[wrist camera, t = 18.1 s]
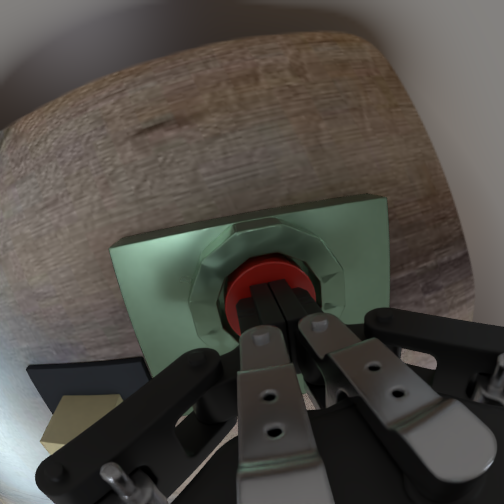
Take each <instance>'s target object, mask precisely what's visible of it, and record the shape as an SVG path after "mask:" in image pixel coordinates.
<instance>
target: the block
mask: <svg viewBox="0 0 504 504" xmlns="http://www.w3.org/2000/svg"><path fill="white" fill-rule="evenodd" d="M122 402H123V400H122V398H121V396H120V394H111V395H64V396H63V397H62V399H61V401H60V402H59V404H58V406H57V408H56V410H55V412H54V414H53V416H52V418H51V420H50V422H49V424H48V426H47V428H46V430H45V432H44V434H43V436H42V438H41V440H40V442H41V444H42V445H43V446H44V447H45V449H46V450H47V451H48V452H49V453H50V455H52V454H53V453H54V452H56V451H57V450H59V449H60V448H61V447H63V446H64V445H66V444H67V443H68V442H70V441H71V440H72V439H74V438H75V437H76V436H78V435H79V434H81V433H82V432H83V431H85V430H86V429H87V428H89V427H90V426H91V425H93V424H94V423H95V422H97V421H98V420H99V419H101V418H102V417H103V416H105V415H106V414H107V413H109V412H110V411H111V410H112V409H114V408H115V407H116V406H118V405H119V404H120V403H122Z"/></svg>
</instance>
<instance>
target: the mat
mask: <svg viewBox="0 0 504 504" xmlns="http://www.w3.org/2000/svg"><path fill="white" fill-rule="evenodd" d="M26 371H27V373H28V375H29V376H30V378H31V380H32V382H33V383H34V385H35V387H36V388H37V390H38V392H39V393H40V395H41V397H42V398H43V400H44V402H45V403H46V405H47V406H48V408H49V409H50V411H51V412H52V414H54V412H55V410H56V408H57V406H58V404H59V402H60V401H61V399H62V397H63V396H64V395H111V394H120V396H121V398H122V400H123V401H124V400H125V399H127V398H128V397H129V396H131V395H132V394H133V393H134V392H136V391H137V390H138V389H140V388H141V387H142V386H143V385H145V384H146V383H147V382H148V381H150V380H151V377H150V374H149V372H148V370H147V367H146V365H145V363H144V360H143V358H142V357H139V358H131V359H121V360H111V361H100V362H88V363H74V364H56V365H29V366H28V367H27V368H26Z"/></svg>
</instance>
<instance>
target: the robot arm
mask: <svg viewBox="0 0 504 504" xmlns="http://www.w3.org/2000/svg"><path fill="white" fill-rule="evenodd" d="M250 292H251V297H249V298H243V299H240V300H239V301H238V303H237V304H236V310H237V316H238V321H239V327H240V332H241V336H240V339H239V343H240V344H239V345H238V346H237V347H236V348H235V349H233V350H232V351H230V352H228V353H226V354H223V355H219V353H218V352H217V351H216V350H214V349H211V348H197V349H193V350H190V351H187V352H186V353H184V354H182V355H181V356H180V357H179V358H177V359H176V360H175V361H174V362H172V363H171V364H170V365H169V366H167V367H166V368H165V369H164V370H162V371H161V372H160V373H159V374H157V375H156V376H155V377H154V378H152V379H151V380H150V381H148V382H147V383H146V384H145V385H143V386H142V387H141V388H140V389H138V390H137V391H136V392H134V393H133V394H132V395H131V396H129V397H128V398H127V399H125V400H124V401H123V402H122V403H120V404H119V405H118V406H116V407H115V408H114V409H112V410H111V411H110V412H109V413H107V414H106V415H105V416H103V417H102V418H101V419H99V420H98V421H97V422H95V423H94V424H93V425H91V426H90V427H89V428H87V429H86V430H85V431H83V432H82V433H81V434H79V435H78V436H76V437H75V438H74V439H72V440H71V441H70V442H68V443H67V444H66V445H64V446H63V447H61V448H60V449H59V450H57V451H56V452H54V453H53V454H52V455H50V456H49V457H47V458H46V459H45V460H44V461H42V462H41V464H40V465H39V466H38V468H37V470H36V474H35V481H36V484H37V486H38V488H39V489H40V490H41V491H42V492H43V493H44V494H45V495H46V496H47V497H48V498H50V499H51V500H52V501H53V502H54V503H55V504H168V501H167V498H168V497H169V496H170V495H171V494H172V493H173V492H174V491H175V490H176V489H177V488H178V487H179V486H180V485H181V484H182V483H183V482H184V481H185V480H186V479H187V478H188V477H189V476H190V475H191V474H192V473H193V472H194V471H195V470H196V469H197V468H198V466H199V465H200V464H201V463H202V462H203V461H204V460H205V459H206V458H207V457H208V456H209V454H210V453H211V452H212V451H213V450H214V449H215V448H216V447H217V445H218V444H219V443H220V442H221V441H222V440H223V439H224V437H225V436H226V435H227V434H228V433H229V432H230V430H231V429H232V428H233V427H234V426H235V424H236V422H237V416H238V436H236V437H234V438H233V439H231V440H229V441H228V442H227V443H225V444H224V445H223V446H222V447H221V448H219V449H218V450H217V451H216V452H215V454H214V455H213V456H212V457H211V458H210V459H209V461H208V462H207V463H206V464H205V465H204V467H203V468H202V469H201V470H200V471H199V472H198V474H197V475H196V476H195V477H194V478H193V479H192V481H191V482H190V483H189V484H188V485H187V486H186V487H185V488H184V490H183V491H182V492H181V493H180V494H179V495H178V496H177V497H176V498H175V499H174V501H173V502H172V503H171V504H504V327H501V326H495V325H488V324H482V323H476V322H469V321H463V320H457V319H451V318H446V317H440V316H434V315H428V314H423V313H417V312H411V311H406V310H400V309H395V308H389V307H381V308H376V309H373V310H370V311H369V312H367V313H366V314H365V316H364V323H361V324H344V323H343V322H342V321H341V320H340V319H339V318H338V317H337V316H335V315H333V314H330V313H324V312H323V311H322V309H321V308H320V307H319V305H318V304H317V303H316V302H315V300H314V299H313V298H312V297H311V295H310V294H309V292H308V291H307V290H305V289H302V288H300V287H297V288H292V289H291V288H290V286H289V285H288V283H287V282H286V280H285V279H281V280H276V281H271V282H268V284H267V283H261V284H256V285H251V286H250ZM402 348H404V349H409V350H413V351H418V352H422V353H427V354H430V355H432V356H433V357H435V359H436V361H437V367H436V370H431V369H427V368H423V367H418V366H414V365H410V364H406V363H404V362H403V361H402V360H401V359H400V358H401V350H402ZM301 373H302V375H303V382H304V389H305V391H306V393H307V394H308V396H309V398H310V400H311V401H312V403H313V405H314V407H315V409H316V410H306V406H305V403H304V399H303V395H302V392H301V388H300V385H299V381H298V378H297V374H301ZM191 407H193V409H194V410H193V411H192V412H191V413H190V414H189V415H188V416H187V417H186V418H185V419H184V420H183V421H182V422H181V423H180V424H179V425H178V426H176V427H175V425H176V423H177V421H178V419H179V418H180V417H181V416H182V415H183V414H184V413H186V412H187V411H188V410H189V409H190V408H191Z"/></svg>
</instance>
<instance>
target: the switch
mask: <svg viewBox="0 0 504 504" xmlns="http://www.w3.org/2000/svg"><path fill="white" fill-rule="evenodd" d="M281 279H285V280H286V282H287V283H288V285H289V286H290V288H291V289H292V288H297V287H300V288H302V289H305V290H307V291H308V292H309V294H310V295H311V297H312V298H313V299H314V300H315V302H316V293H315V289H314V286H313V284H312V282H311V280H310V278H309V277H308V276H307V274H306V273H305V272H304V271H303V270H302V269H301V268H300V266H299V265H298V264H297V263H296V262H295V261H294V260H292V259H291V258H290V257H288V256H286V255H283V254H280V253H272V254H267V255H262V256H257V257H252V258H249V259H248V260H246V261H245V262H244V263H243V264H241V265H240V266H239V267H238V268H237V269H235V270H234V271H233V272H232V273H231V274H229V275H228V276H227V278H226V280H225V284H224V305H225V314H226V317H227V320H228V323H229V325H230V326H231V328H232V329H233V330H234V331H235V333H236V334H238V335H239V336H241V332H240V327H239V321H238V316H237V310H236V304H237V303H238V301H239V300H240V299H243V298H249V297H251V292H250V286H251V285H256V284H261V283H267V284H268V282H271V281H276V280H281Z"/></svg>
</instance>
